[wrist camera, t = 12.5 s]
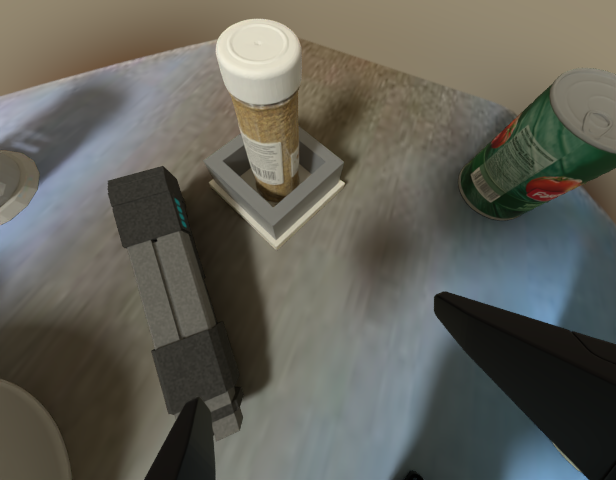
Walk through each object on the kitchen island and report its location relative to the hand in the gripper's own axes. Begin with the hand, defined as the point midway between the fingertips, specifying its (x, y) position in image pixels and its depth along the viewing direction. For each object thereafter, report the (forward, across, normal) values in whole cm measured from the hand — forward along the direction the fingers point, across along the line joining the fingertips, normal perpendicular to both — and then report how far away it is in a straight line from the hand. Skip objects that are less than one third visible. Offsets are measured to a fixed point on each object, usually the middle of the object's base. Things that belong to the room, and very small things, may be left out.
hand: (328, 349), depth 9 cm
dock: (+20, -2, -1) cm, 20 cm away
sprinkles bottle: (+20, -2, -2) cm, 20 cm away
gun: (+15, +8, +5) cm, 18 cm away
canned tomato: (+15, -25, +5) cm, 29 cm away
